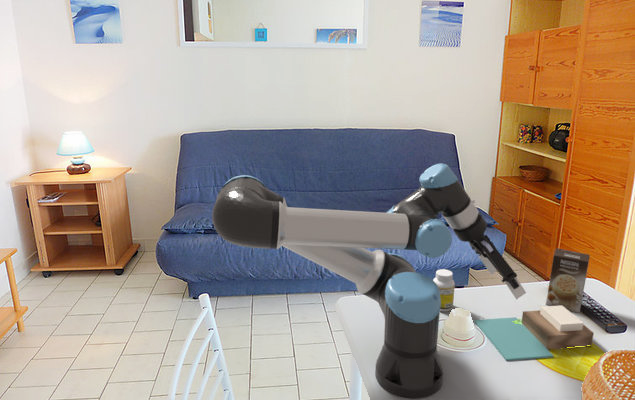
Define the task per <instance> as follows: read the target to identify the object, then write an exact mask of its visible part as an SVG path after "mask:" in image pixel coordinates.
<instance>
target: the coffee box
mask: <svg viewBox="0 0 635 400" xmlns="http://www.w3.org/2000/svg"><path fill="white" fill-rule="evenodd" d="M553 253H554V254H553V258H552V263H551V272H550V276H549V282H548V289H547V294H546V295H547V296H546V301H545V306H561V305H562V306H563V307H565V308H566V309H567V310H568V311H569V312H574V313H579V314H580V311H581V306H582V302H583V296H584V291H585V284H586V280H587V275H588V268H589V263H590V257H591V256H590V254H588V253H582V252H576V251H573V250H567V249H562V248H555V250H554V252H553Z"/></svg>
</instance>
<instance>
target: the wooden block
mask: <svg viewBox="0 0 635 400" xmlns="http://www.w3.org/2000/svg"><path fill="white" fill-rule="evenodd" d="M540 310H541V309H540ZM540 310H526V311H522V316H521V323H522V324H523V325H524V326H525V327H526V328H527V329H528V330H529V331H530V332H531V333H532V334H533V335H534V336H535V337H536V338H537V339H538V340H539V341H540V342H541V343H542V344H543V345H544V346H545V347H546V348H547V349H548V350H549V349H554V350H562V349H561V348H567V347H575V346H587V345H591V346H592V344H593V339H594V334H595V333H594V332H593V331H592V330H591V329H590V328H589V327H587V326H586V325H585V324H584V323H583V329H582V330H576V331H562V332H560V331H559V330H558V329H556V328H555V327H554V326H553V325H552V324H551V323H550V322H549V321H548V320H547V319H546V318H544V317H543V316H542V315H541V314H540ZM549 351H550V350H549Z"/></svg>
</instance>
